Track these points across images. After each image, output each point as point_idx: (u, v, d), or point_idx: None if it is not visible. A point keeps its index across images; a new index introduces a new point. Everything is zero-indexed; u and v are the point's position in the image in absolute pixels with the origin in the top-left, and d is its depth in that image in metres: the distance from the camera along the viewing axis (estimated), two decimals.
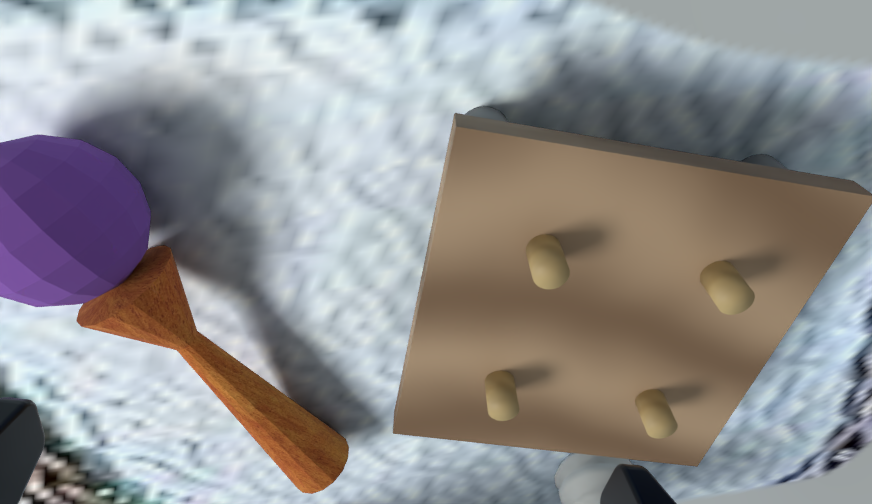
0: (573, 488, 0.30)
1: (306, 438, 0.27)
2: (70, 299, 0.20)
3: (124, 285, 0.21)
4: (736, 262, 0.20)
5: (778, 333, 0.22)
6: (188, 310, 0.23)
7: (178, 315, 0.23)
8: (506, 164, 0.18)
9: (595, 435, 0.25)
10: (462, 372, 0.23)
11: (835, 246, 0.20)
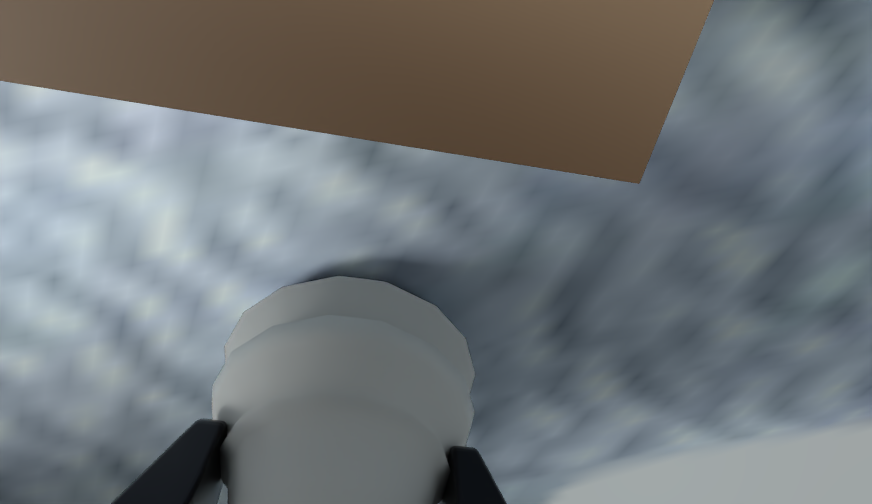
0: (226, 402, 0.09)
1: None
2: None
3: None
4: None
5: None
6: None
7: None
8: None
9: None
10: None
11: None
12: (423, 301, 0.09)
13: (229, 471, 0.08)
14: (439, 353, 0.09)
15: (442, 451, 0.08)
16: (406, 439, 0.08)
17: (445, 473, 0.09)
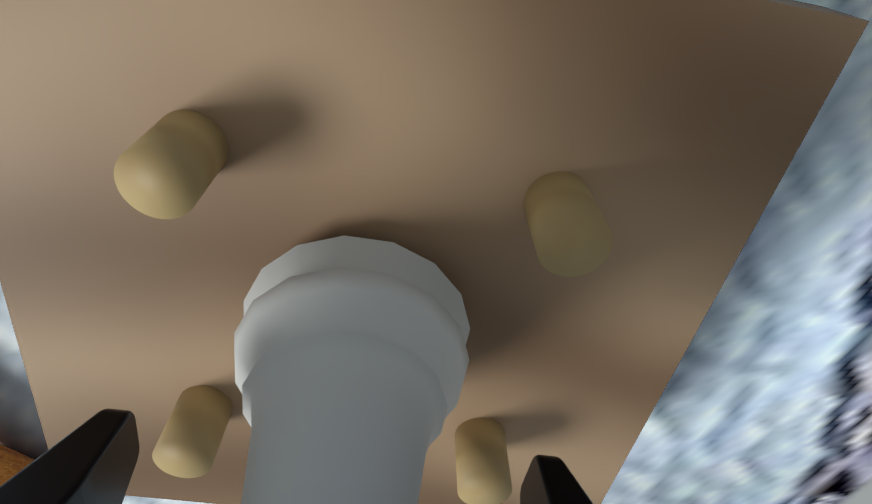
0: (248, 345, 0.10)
1: None
2: None
3: None
4: (591, 175, 0.10)
5: (690, 319, 0.12)
6: None
7: None
8: None
9: None
10: (133, 388, 0.13)
11: (787, 140, 0.10)
12: (423, 259, 0.10)
13: (252, 402, 0.09)
14: (437, 302, 0.10)
15: (440, 387, 0.09)
16: (409, 373, 0.09)
17: (443, 408, 0.10)
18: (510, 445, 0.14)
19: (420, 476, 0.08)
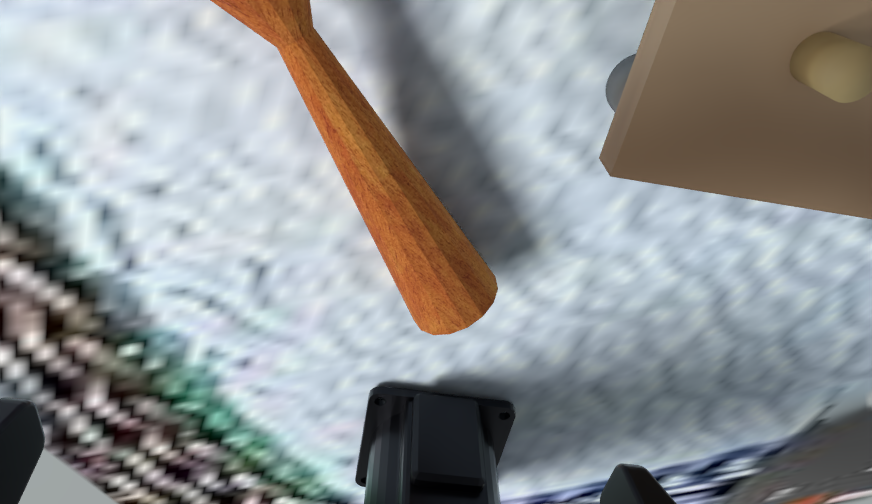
0: None
1: (451, 240, 0.18)
2: None
3: None
4: None
5: None
6: None
7: None
8: None
9: None
10: (760, 34, 0.13)
11: None
12: None
13: None
14: None
15: None
16: None
17: None
18: None
19: None
